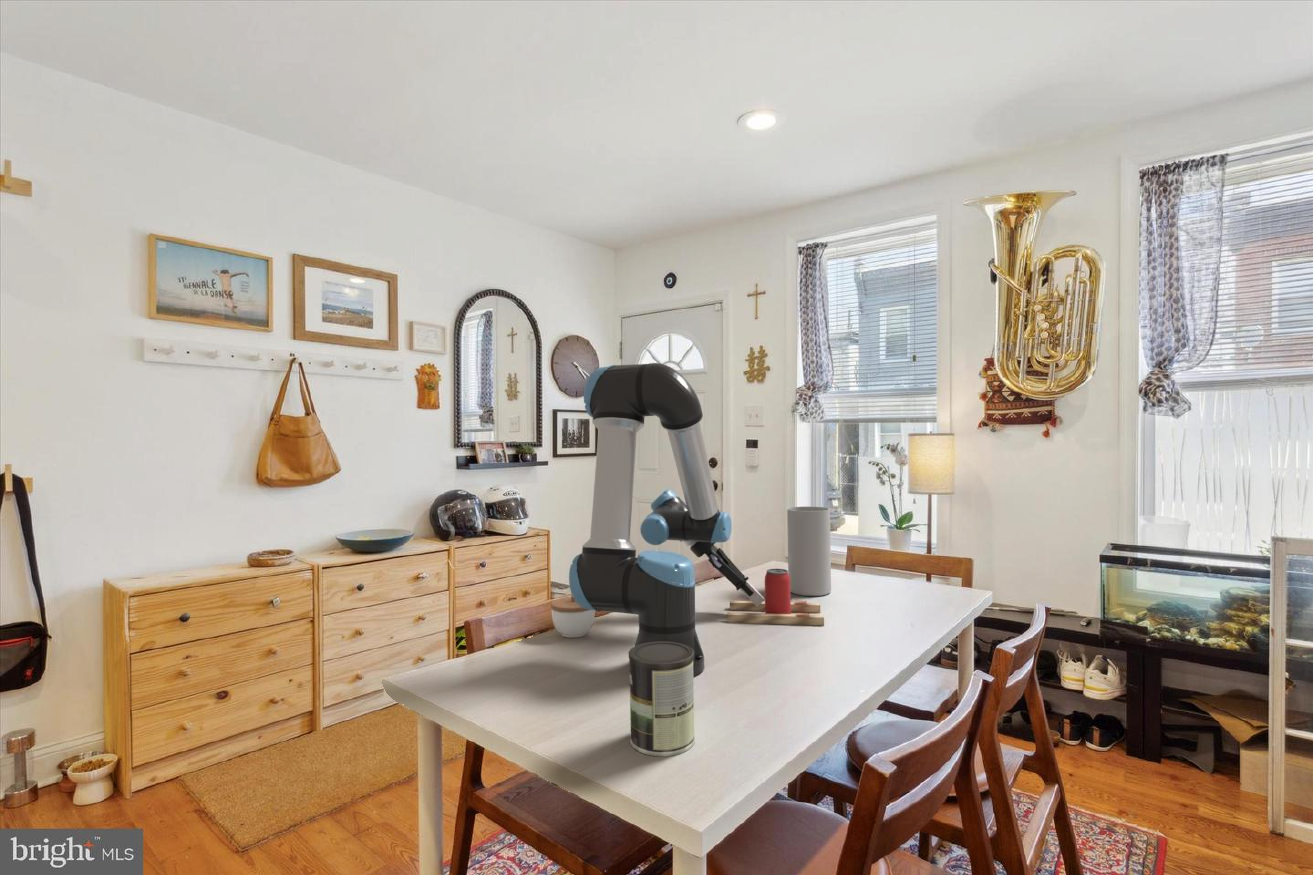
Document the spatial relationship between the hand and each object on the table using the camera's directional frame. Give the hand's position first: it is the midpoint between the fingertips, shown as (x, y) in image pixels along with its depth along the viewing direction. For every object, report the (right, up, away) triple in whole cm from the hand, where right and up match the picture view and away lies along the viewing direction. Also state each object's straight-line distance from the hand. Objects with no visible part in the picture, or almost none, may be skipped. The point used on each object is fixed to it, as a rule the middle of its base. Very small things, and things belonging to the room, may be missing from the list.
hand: (760, 602), depth 169 cm
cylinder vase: (+19, -3, +23) cm, 30 cm away
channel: (+3, -3, -2) cm, 5 cm away
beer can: (+4, -3, -2) cm, 6 cm away
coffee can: (-27, -4, -69) cm, 74 cm away
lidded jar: (-48, -4, -14) cm, 50 cm away
